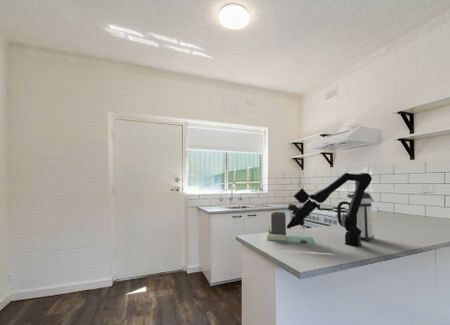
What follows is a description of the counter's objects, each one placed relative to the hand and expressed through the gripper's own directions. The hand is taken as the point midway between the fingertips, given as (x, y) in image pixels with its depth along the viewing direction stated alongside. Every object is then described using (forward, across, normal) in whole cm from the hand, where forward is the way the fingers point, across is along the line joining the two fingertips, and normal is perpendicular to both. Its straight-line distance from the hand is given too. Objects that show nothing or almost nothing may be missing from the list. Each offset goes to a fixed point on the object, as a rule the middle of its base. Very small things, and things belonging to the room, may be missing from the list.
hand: (287, 227), depth 130 cm
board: (+4, 0, +6) cm, 7 cm away
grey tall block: (+8, 0, +1) cm, 8 cm away
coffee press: (-24, -16, +34) cm, 45 cm away
